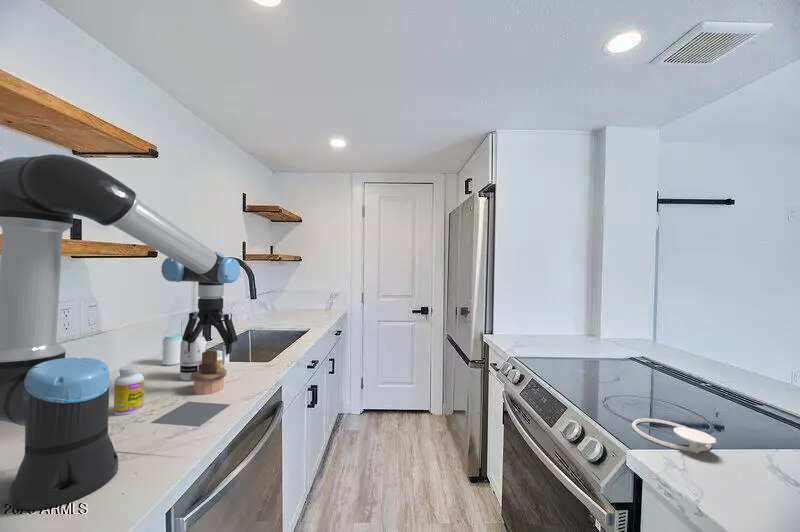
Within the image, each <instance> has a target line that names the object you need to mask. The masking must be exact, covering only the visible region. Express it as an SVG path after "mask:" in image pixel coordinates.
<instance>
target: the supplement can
mask: <svg viewBox="0 0 800 532" xmlns="http://www.w3.org/2000/svg"><path fill="white" fill-rule="evenodd" d="M194 342H198V347H197V361H195V362H192V363H190V352H188V342H187V341H183V340H182V341H181V347H180V364H179V378H180V379H181V380H182V381H185V382H192V381H193V382H194V380H192V379H191V374H192V373H193V372H195V371H198V370H202V353H203V352H206V351H207V340H206V338H205V335H198V337H197V339H196V341H194Z"/></svg>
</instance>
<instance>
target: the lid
mask: <svg viewBox="0 0 800 532" xmlns="http://www.w3.org/2000/svg"><path fill="white" fill-rule="evenodd" d="M226 376H227V369H226V368H225V367H224V368H217V350H210V349H209V350H206V352H203V353H202V370H198V371H195V372H193V373H192V374H191V379H192V380H193V382H194V381H212V380H217V379H220V378H223V377H226Z"/></svg>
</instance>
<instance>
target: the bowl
mask: <svg viewBox="0 0 800 532" xmlns="http://www.w3.org/2000/svg"><path fill="white" fill-rule="evenodd" d="M224 380H225V379H224V377H223V378H220V379H217V380H212V381H194V380H193V394H195V395H198V396H199V395H200V396H203V395H204V396H205V395H212V394H216V393H219V392H222V391H223V390H224Z"/></svg>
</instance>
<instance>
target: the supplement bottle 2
mask: <svg viewBox="0 0 800 532" xmlns="http://www.w3.org/2000/svg"><path fill="white" fill-rule="evenodd" d="M216 351H217V368H224V369H225V365H222V353H223V350H216Z"/></svg>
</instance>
